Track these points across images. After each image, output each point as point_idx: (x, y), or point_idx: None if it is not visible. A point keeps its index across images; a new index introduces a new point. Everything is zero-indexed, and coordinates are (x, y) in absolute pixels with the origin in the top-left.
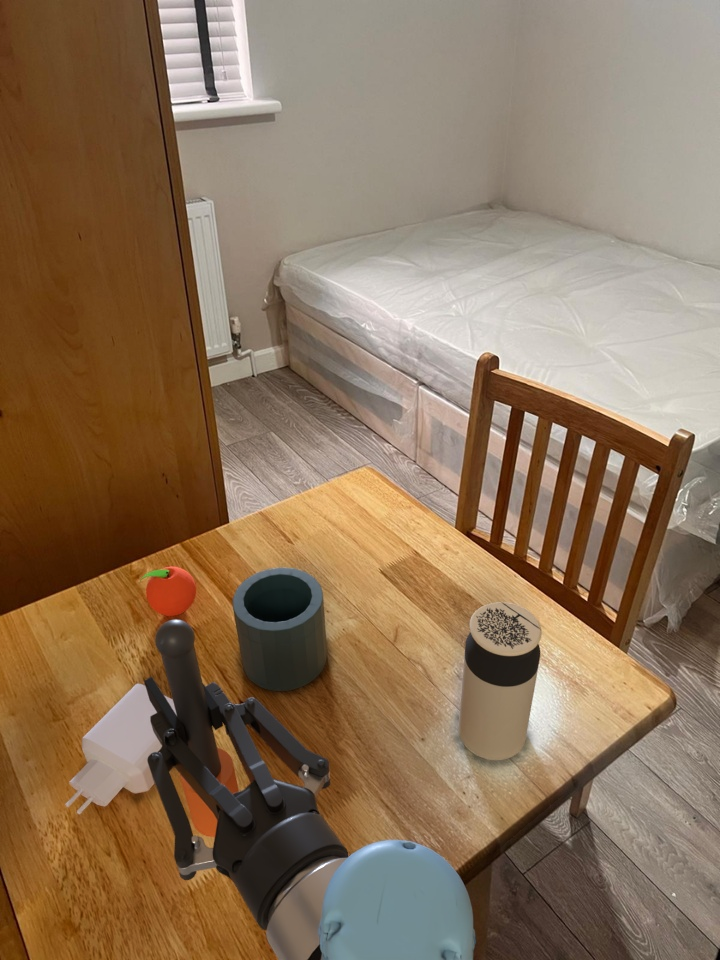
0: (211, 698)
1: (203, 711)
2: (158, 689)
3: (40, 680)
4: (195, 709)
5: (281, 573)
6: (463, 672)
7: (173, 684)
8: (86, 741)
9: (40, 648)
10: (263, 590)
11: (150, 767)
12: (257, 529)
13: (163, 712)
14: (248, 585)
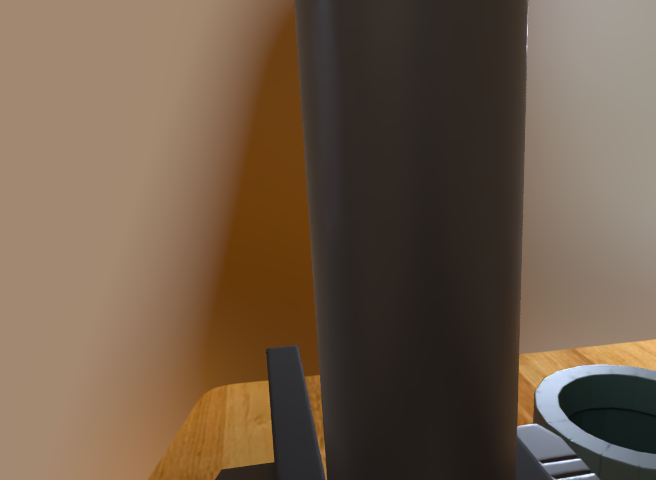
0: (536, 470)
1: None
2: (299, 380)
3: (201, 465)
4: (443, 458)
5: (638, 375)
6: None
7: (327, 174)
8: None
9: (224, 425)
10: (594, 403)
11: None
12: (559, 359)
13: (274, 460)
14: (567, 379)
